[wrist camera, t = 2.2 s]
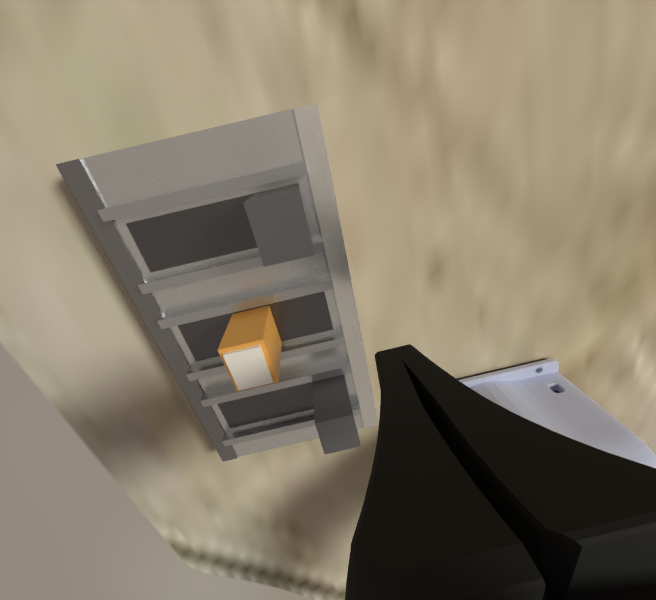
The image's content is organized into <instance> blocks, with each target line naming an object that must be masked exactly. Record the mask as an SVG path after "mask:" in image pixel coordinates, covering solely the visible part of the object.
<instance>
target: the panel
mask: <svg viewBox="0 0 656 600" xmlns="http://www.w3.org/2000/svg"><path fill="white" fill-rule="evenodd" d="M56 166H57V168H58V169H59V171H60V173H61V175H62V177H63V178H64V180H65V182H66V184H67V185H68V187H69V189H70V191H71V192H72V194H73V196H74V198H75V200H76V201H77V203H78V205H79V207H80V208H81V210H82V212H83V214H84V216H85V217H86V219H87V221H88V223H89V224H90V226H91V228H92V230H93V232H94V233H95V235H96V237H97V239H98V240H99V242H100V244H101V246H102V248H103V249H104V251H105V253H106V255H107V256H108V258H109V260H110V262H111V264H112V265H113V267H114V269H115V271H116V272H117V274H118V276H119V278H120V280H121V281H122V283H123V285H124V287H125V288H126V290H127V292H128V294H129V296H130V297H131V299H132V301H133V303H134V304H135V306H136V308H137V310H138V312H139V313H140V315H141V317H142V319H143V320H144V322H145V324H146V326H147V327H148V329H149V331H150V333H151V335H152V336H153V338H154V340H155V342H156V343H157V345H158V347H159V349H160V351H161V352H162V354H163V356H164V358H165V359H166V361H167V363H168V365H169V367H170V368H171V370H172V372H173V374H174V375H175V377H176V379H177V381H178V383H179V384H180V386H181V388H182V390H183V391H184V393H185V395H186V397H187V399H188V400H189V402H190V404H191V406H192V407H193V409H194V411H195V413H196V415H197V416H198V418H199V420H200V422H201V423H202V425H203V427H204V429H205V431H206V432H207V434H208V436H209V438H210V439H211V441H212V443H213V445H214V447H215V448H216V450H217V452H218V454H219V455H220V457H221V459H222V461H227V460H231V459H236V458H237V457H239V456H243V455H248V454H252V453H256V452H260V451H265V450H269V449H273V448H278V447H282V446H286V445H290V444H295V443H299V442H303V441H308V440H312V439H316V438H319V435H318V432H317V429H316V426H315V419H314V405H313V391H312V382H313V381H318V380H322V379H326V378H330V377H335V376H339V375H343V374H344V376H345V380H346V384H347V388H348V393H349V397H350V401H351V405H352V410H353V414H354V419H355V423H356V427H357V429H359V428H363V427H364V428H369V427H373V426H377V425H379V424H378V419H377V414H376V408H375V403H374V398H373V393H372V387H371V382H370V377H369V372H368V366H367V361H366V356H365V351H364V345H363V340H362V335H361V330H360V324H359V319H358V314H357V309H356V304H355V298H354V293H353V288H352V283H351V277H350V272H349V267H348V262H347V256H346V251H345V246H344V241H343V235H342V230H341V225H340V220H339V214H338V209H337V204H336V199H335V193H334V188H333V183H332V178H331V172H330V167H329V162H328V157H327V151H326V146H325V141H324V136H323V130H322V125H321V120H320V115H319V109H318V104H317V103H314V104H310V105H306V106H302V107H297V108H293V109H291V110H286V111H282V112H278V113H274V114H269V115H265V116H261V117H257V118H252V119H248V120H244V121H240V122H236V123H231V124H227V125H223V126H219V127H214V128H210V129H206V130H202V131H197V132H193V133H189V134H185V135H180V136H176V137H172V138H168V139H163V140H159V141H155V142H151V143H146V144H142V145H138V146H134V147H130V148H125V149H121V150H117V151H113V152H108V153H104V154H100V155H96V156H91V157H87V158H83V159H77V160H73V161H69V162H64V163H60V164H56ZM297 183H299V187H300V191H301V195H302V199H303V204H304V208H305V212H306V216H307V220H308V225H309V229H310V233H311V238H312V243H313V247H314V252H315V255H313V256H309V257H304V258H300V259H296V260H292V261H287V262H283V263H279V264H275V265H270V266H266V267H264V265H263V262H262V259H261V256H260V253H259V250H258V247H257V244H256V241H255V238H254V234H253V231H252V228H251V225H250V222H249V219H248V216H247V213H246V210H245V207H244V204H243V203H244V202H245V201H246V200H248V199H249V198H250V197H251V196H253V195H254V194H255V193H259V192H263V191H268V190H272V189H276V188H280V187H285V186H289V185H293V184H297ZM265 306H270V309H271V312H272V315H273V318H274V321H275V324H276V327H277V330H278V333H279V336H280V339H281V342H282V346H281V359H280V371H279V382H276V383H272V384H268V385H263V386H259V387H255V388H250V389H246V390H242V391H238V392H237V391H236V389H235V387H234V385H233V383H232V381H231V378H230V376H229V374H228V372H227V370H226V367H225V365H224V363H223V361H222V359H221V357H220V354H219V352H218V348H219V345H220V343H221V340H222V338H223V336H224V333H225V331H226V328H227V326H228V324H229V321H230V319H231V316H232V314H235V313H239V312H243V311H248V310H252V309H256V308H260V307H265Z"/></svg>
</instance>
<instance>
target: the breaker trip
mask: <svg viewBox="0 0 656 600" xmlns="http://www.w3.org/2000/svg"><path fill="white" fill-rule="evenodd" d="M281 346H282V342H281V339H280V336H279V333H278V330H277V327H276V324H275V321H274V318H273V315H272V312H271V309H270V306H265V307H260V308H256V309H252V310H248V311H243V312H239V313H235V314H232V316H231V319H230V321H229V324H228V326H227V328H226V331H225V333H224V336H223V338H222V340H221V343H220V345H219V348H218V352H219V354H220V357H221V359H222V361H223V363H224V365H225V367H226V370H227V372H228V374H229V376H230V378H231V381H232V383H233V385H234V387H235V389H236V391H237V392H238V391H242V390H246V389H250V388H255V387H259V386H263V385H268V384H272V383H276V382H279V371H280V359H281Z"/></svg>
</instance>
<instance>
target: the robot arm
mask: <svg viewBox="0 0 656 600" xmlns="http://www.w3.org/2000/svg"><path fill="white" fill-rule="evenodd" d="M375 360H376V366H377V371H378V377H379V383H380V389H381V405H380V421H379V431H378V438H377V445H376V451H375V457H374V462H373V467H372V472H371V476H370V480H369V484H368V488H367V492H366V496H365V500H364V504H363V507H362V511H361V514H360V517H359V520H358V523H357V526H356V530H355V533H354V536H353V539H352V543H351V551H350V558H349V566H348V574H347V583H346V594H345V600H656V456H655V454H654V453H653V452H652V451H651V450H650V448H649V447H648V446H647V445H646V444H645V443H644V442H643V441H642V440H641V439H640V438H639V437H637V436H636V435H635V434H634V433H633V432H632V431H630V430H629V429H628V428H627V427H626V426H624V425H623V424H622V423H621V422H619V421H618V420H617V419H616V418H614V417H613V416H612V415H611V414H609V413H608V412H607V411H606V410H604V409H603V408H602V407H601V406H600V405H598V404H597V403H596V402H595V401H593V400H592V399H591V398H590V397H588V396H587V395H586V394H585V393H583V392H582V391H581V390H580V389H578V388H577V387H576V386H575V385H574V384H572V383H571V382H570V381H569V380H567V379H566V378H565V377H564V376H562V375H561V374H560V373H559V372H558V369H559V363H558V362H557V361H556V360H555V359H546V360H542V361H538V362H534V363H529V364H525V365H521V366H516V367H512V368H508V369H504V370H499V371H495V372H491V373H486V374H482V375H478V376H474V377H469V378H465V379H461V380H457V379H456V378H454V377H453V376H451V375H450V374H448V373H447V372H446V371H444V370H443V369H441V368H440V367H439V366H437V365H436V364H435V363H433V362H432V361H431V360H429V359H428V358H427V357H426V356H424V355H423V354H422V353H421V352H419V351H418V350H417V349H416V348H414V347H413V346H412V345H410V344H409V345H405V346H401V347H397V348H392V349H388V350H384V351H380V352H377V353H376V354H375Z"/></svg>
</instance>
